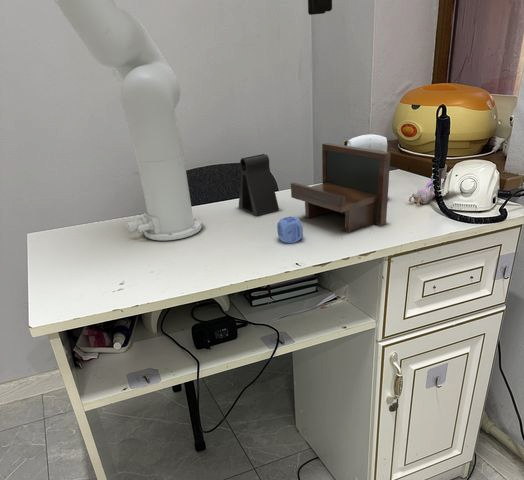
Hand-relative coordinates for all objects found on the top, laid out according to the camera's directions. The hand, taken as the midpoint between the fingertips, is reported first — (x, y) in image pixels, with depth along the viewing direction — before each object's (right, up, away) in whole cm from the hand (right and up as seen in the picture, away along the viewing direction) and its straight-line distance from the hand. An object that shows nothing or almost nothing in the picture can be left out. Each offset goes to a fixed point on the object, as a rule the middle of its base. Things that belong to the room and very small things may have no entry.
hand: (319, 12), depth 86 cm
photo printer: (+17, -17, +40) cm, 47 cm away
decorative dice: (-4, -37, +12) cm, 40 cm away
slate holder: (+5, -32, +19) cm, 37 cm away
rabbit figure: (+30, -24, +27) cm, 47 cm away
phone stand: (-11, -26, +31) cm, 42 cm away
